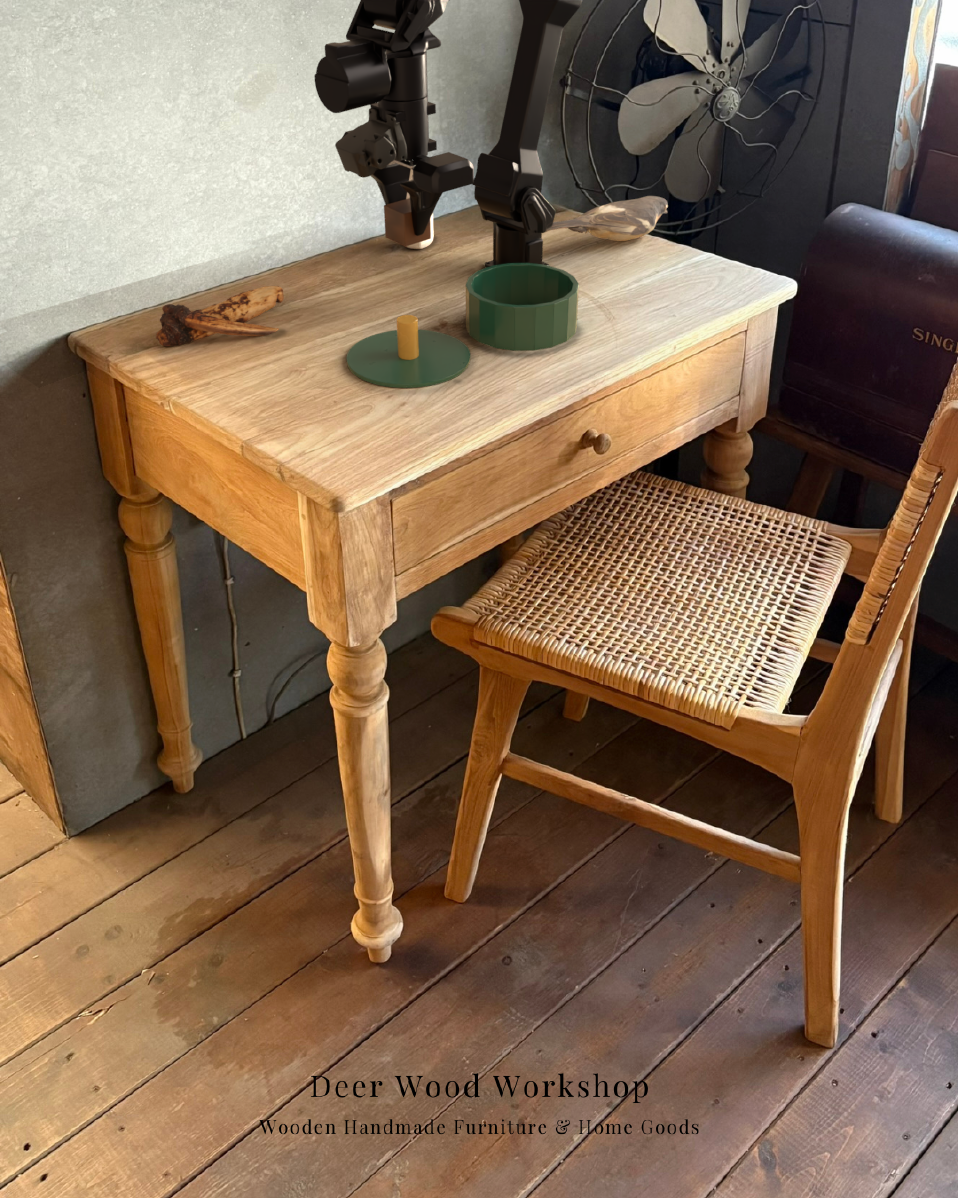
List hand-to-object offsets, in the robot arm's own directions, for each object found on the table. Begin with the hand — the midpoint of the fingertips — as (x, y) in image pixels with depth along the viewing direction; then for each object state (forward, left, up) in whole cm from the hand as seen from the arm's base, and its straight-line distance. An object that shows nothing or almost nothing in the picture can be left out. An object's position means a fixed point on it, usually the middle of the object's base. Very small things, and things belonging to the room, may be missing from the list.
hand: (408, 229), depth 145 cm
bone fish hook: (-9, -21, -11) cm, 25 cm away
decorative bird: (+1, +35, -10) cm, 36 cm away
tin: (+14, +6, -10) cm, 18 cm away
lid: (+12, -10, -10) cm, 18 cm away
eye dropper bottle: (-17, +15, -11) cm, 25 cm away
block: (0, 0, -1) cm, 1 cm away
